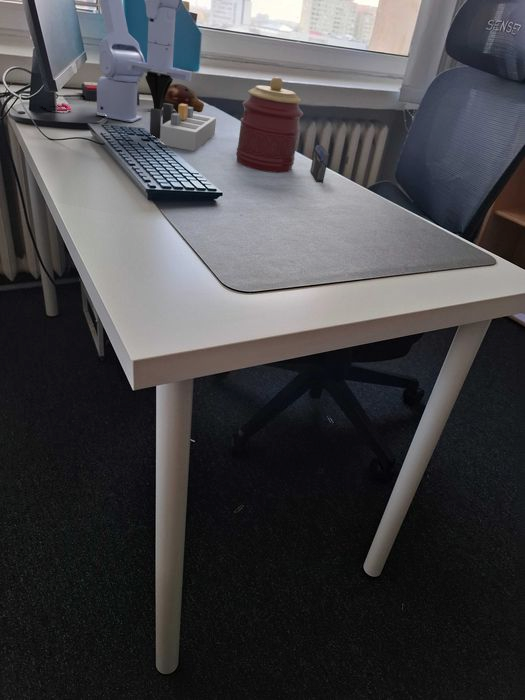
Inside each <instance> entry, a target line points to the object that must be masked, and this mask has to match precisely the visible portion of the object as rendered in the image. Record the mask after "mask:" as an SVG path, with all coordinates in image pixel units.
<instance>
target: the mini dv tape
mask: <svg viewBox="0 0 525 700" xmlns="http://www.w3.org/2000/svg"><path fill="white" fill-rule="evenodd" d="M329 156H330V153H329V152H328V151H327V149H325V147H324V146H323V145H320V144H316V146H315V148H314V152H313V155H312V161H311V165H310V166H311V167H310V169H309V172H310V174H311V176H312V179H314V181H315V183H320V184H323V183H324V179H325V175H326V171H327V165H328V161H329Z"/></svg>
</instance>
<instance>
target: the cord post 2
mask: <svg viewBox="0 0 525 700" xmlns="http://www.w3.org/2000/svg"><path fill="white" fill-rule="evenodd" d="M173 113H174V109H173V105H172V104H168V103H163V107H162V120H161V125H162V124H164V123H166V122H168V121H170V120H171V114H173Z"/></svg>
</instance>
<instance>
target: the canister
mask: <svg viewBox="0 0 525 700" xmlns="http://www.w3.org/2000/svg"><path fill="white" fill-rule="evenodd" d="M283 86H284V82H283V80H282V78H281V77H279V76H274V77H273V78H272V79H271V80H270V85H269V86H268V85H255V86H254V87H253V88H250V89H249V90H248V91H247V93H248V94H249V97H248V98H247V99H245V100H244V101H243V102H242V106H243V108H244V109H243V114H242V118H240V128H239V134H238V135H239V136H238V143H237V144H238V145H237V147H236V153H235V155H236V161H237V163H238V164H240V165H242V166H244V167H247V168H249V169H254V170H257V171H262V172H269V173H287V172H290V171H292V168H293V167H294V163H295V155H296V148H297V144H298V138H299V133H300V131H301V129H300V128H299V127H300V126H299V125H300V118H301V117H303V116H304V112H303V111H302V110H301V109H300V107H299V106H300V105H299V104H300V103H302V100H301V98H300V97H299V96H298V95H297V94H296V92H294V91H292V90H289V89H285V88H283Z"/></svg>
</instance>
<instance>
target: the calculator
mask: <svg viewBox="0 0 525 700" xmlns="http://www.w3.org/2000/svg"><path fill="white" fill-rule="evenodd" d="M97 83H98V82H94V81H91V82H90V81H83V82H82V83H81V89H82V91H81V92H82V95H83V94H84V95H83V96H85V97H84V98H85V100H86V101H92V102H93V101H94V102H97ZM137 106H140V93H139V91H137Z"/></svg>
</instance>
